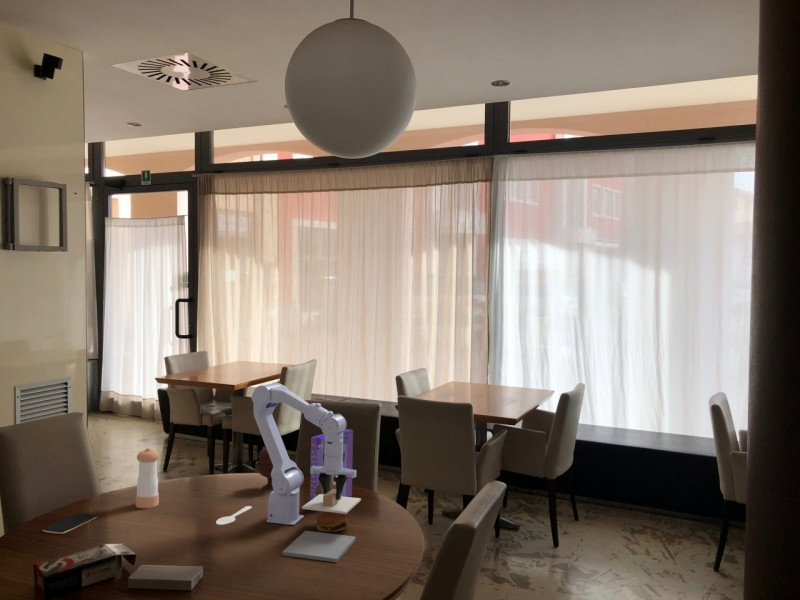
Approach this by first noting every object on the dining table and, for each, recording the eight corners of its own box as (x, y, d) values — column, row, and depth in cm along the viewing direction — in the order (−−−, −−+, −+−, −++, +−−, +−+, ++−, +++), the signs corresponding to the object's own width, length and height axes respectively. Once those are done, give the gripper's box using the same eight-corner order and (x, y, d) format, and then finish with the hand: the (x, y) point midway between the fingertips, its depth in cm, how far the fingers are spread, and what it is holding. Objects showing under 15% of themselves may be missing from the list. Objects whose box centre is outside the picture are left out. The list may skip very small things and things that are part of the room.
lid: (302, 508, 187) (302, 496, 188) (319, 495, 201) (319, 484, 201) (346, 513, 184) (346, 501, 184) (360, 500, 197) (361, 488, 198)
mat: (282, 555, 172) (282, 551, 172) (305, 533, 188) (305, 530, 188) (336, 562, 168) (337, 558, 168) (355, 540, 184) (355, 536, 184)
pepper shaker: (163, 503, 212) (164, 447, 212) (144, 509, 206) (145, 452, 205) (149, 499, 216) (150, 444, 216) (130, 505, 210) (131, 448, 209)
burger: (310, 526, 194) (311, 511, 194) (336, 520, 200) (337, 506, 200) (325, 536, 186) (326, 521, 186) (352, 530, 192) (352, 515, 192)
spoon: (257, 508, 210) (257, 506, 210) (225, 526, 193) (225, 525, 193) (243, 506, 212) (243, 504, 212) (211, 524, 195) (211, 522, 195)
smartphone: (98, 514, 199) (62, 531, 184) (98, 518, 199) (62, 535, 184) (78, 512, 200) (41, 529, 186) (78, 516, 200) (41, 532, 186)
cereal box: (320, 510, 209) (322, 438, 209) (309, 507, 211) (311, 436, 211) (351, 496, 224) (353, 429, 223) (341, 493, 226) (342, 428, 226)
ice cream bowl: (278, 493, 225) (279, 452, 225) (249, 491, 227) (250, 450, 227) (289, 485, 235) (289, 445, 235) (261, 482, 237) (262, 443, 237)
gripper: (306, 455, 191) (305, 500, 191) (351, 459, 187) (350, 504, 187) (315, 450, 198) (314, 493, 198) (358, 454, 194) (358, 497, 194)
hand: (332, 498), depth 193 cm, fingers closed on lid, 3 cm apart
